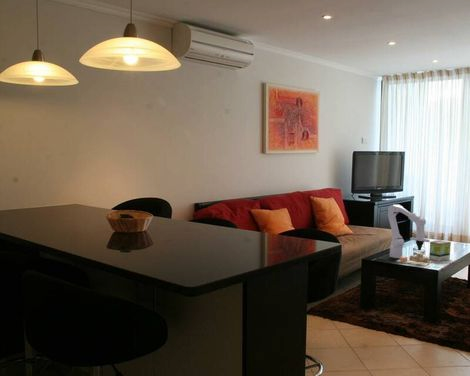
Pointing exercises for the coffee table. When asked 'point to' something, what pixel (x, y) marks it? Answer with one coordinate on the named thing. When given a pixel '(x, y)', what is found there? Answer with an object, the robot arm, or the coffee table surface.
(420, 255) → the tall block middle
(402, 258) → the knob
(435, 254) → the tea box
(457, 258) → the coffee table surface
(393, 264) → the coffee table surface
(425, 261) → the short block right
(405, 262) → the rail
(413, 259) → the short block left
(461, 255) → the coffee table surface
